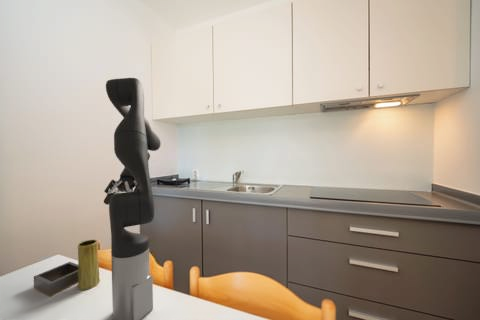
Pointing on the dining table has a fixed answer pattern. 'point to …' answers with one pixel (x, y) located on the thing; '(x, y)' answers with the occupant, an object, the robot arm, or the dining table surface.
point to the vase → (88, 265)
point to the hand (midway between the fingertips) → (115, 204)
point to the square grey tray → (57, 279)
